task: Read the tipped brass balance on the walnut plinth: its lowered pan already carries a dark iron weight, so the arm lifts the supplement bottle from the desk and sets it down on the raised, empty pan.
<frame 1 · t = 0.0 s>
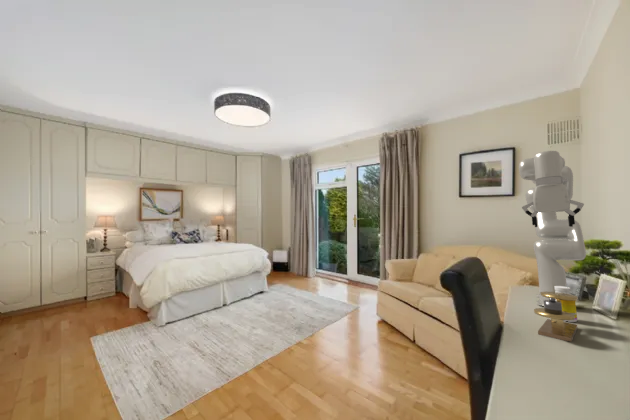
hand: (552, 226, 94), 37 cm above the table, tool pointing down, fingers open, 9 cm apart
balance: (558, 331, 87), on the table
supplement bottle: (565, 320, 99), on the table
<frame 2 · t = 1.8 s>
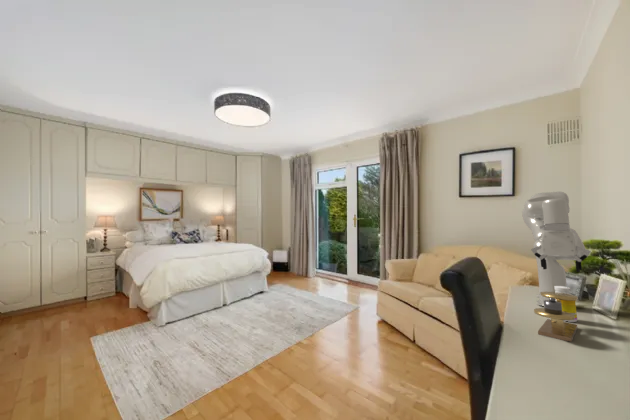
hand: (561, 270, 100), 20 cm above the table, tool pointing down, fingers open, 9 cm apart
nothing on the table moved.
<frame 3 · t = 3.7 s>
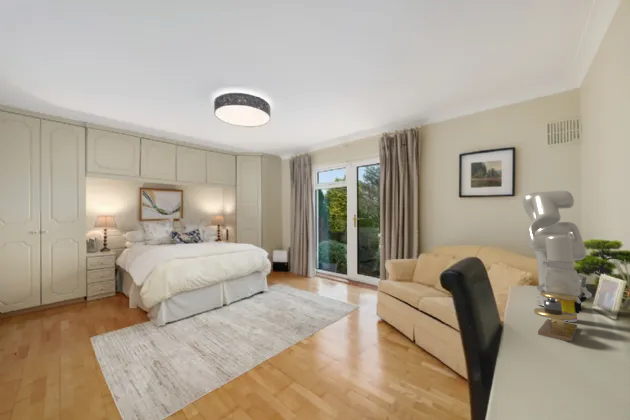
hand: (564, 310, 99), 4 cm above the table, tool pointing down, fingers closed on supplement bottle, 6 cm apart
supplement bottle: (565, 320, 99), on the table, touching gripper
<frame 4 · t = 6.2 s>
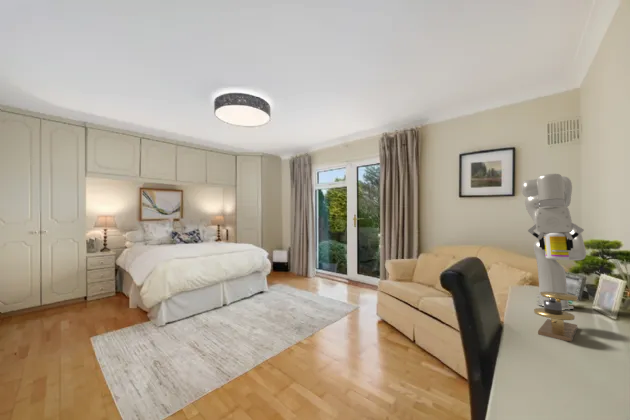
hand: (556, 249, 96), 28 cm above the table, tool pointing down, fingers closed on supplement bottle, 6 cm apart
supplement bottle: (557, 259, 96), point 24 cm above the table, touching gripper
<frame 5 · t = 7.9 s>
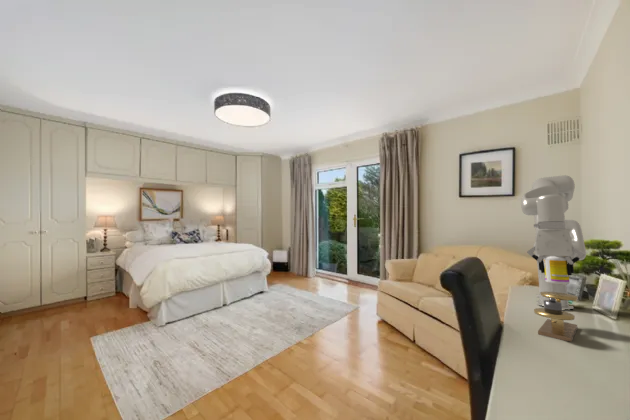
hand: (556, 273, 93), 20 cm above the table, tool pointing down, fingers closed on supplement bottle, 6 cm apart
supplement bottle: (557, 283, 93), point 16 cm above the table, touching gripper
when the fingers open (16 cm above the table, at t = 9.0 s): supplement bottle drops 1 cm, resting on balance.
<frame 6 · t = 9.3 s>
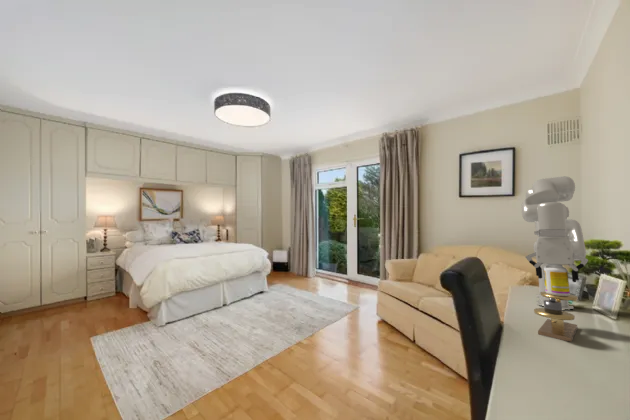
hand: (556, 279, 93), 17 cm above the table, tool pointing down, fingers open, 9 cm apart
supplement bottle: (557, 295, 93), point 11 cm above the table, touching balance
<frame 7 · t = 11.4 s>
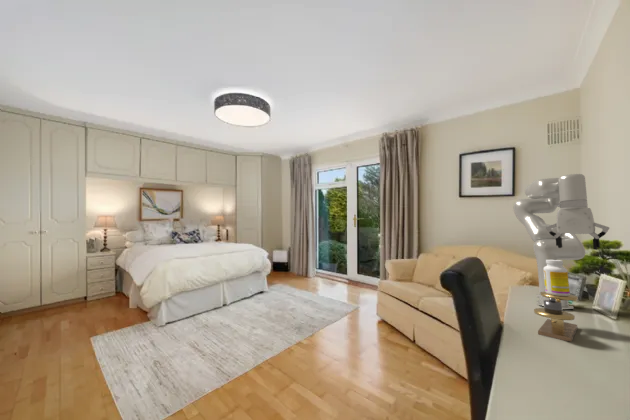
hand: (577, 248, 97), 29 cm above the table, tool pointing down, fingers open, 9 cm apart
nothing on the table moved.
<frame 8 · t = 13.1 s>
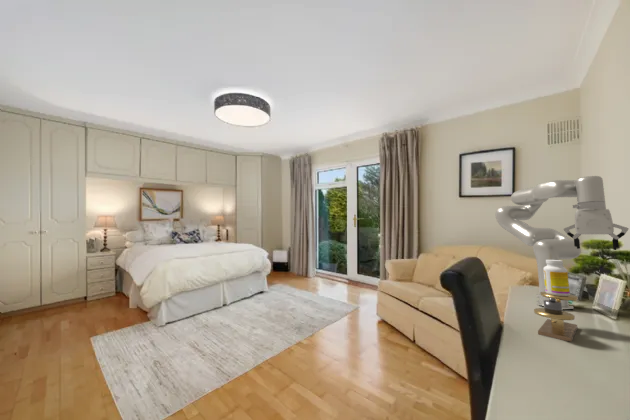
hand: (596, 249, 98), 28 cm above the table, tool pointing down, fingers open, 9 cm apart
nothing on the table moved.
at the end: supplement bottle inside the target area on the balance (0.4 cm from its centre), point 11.4 cm above the balance's base; supplement bottle tilted 0°; the gripper is holding nothing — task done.
